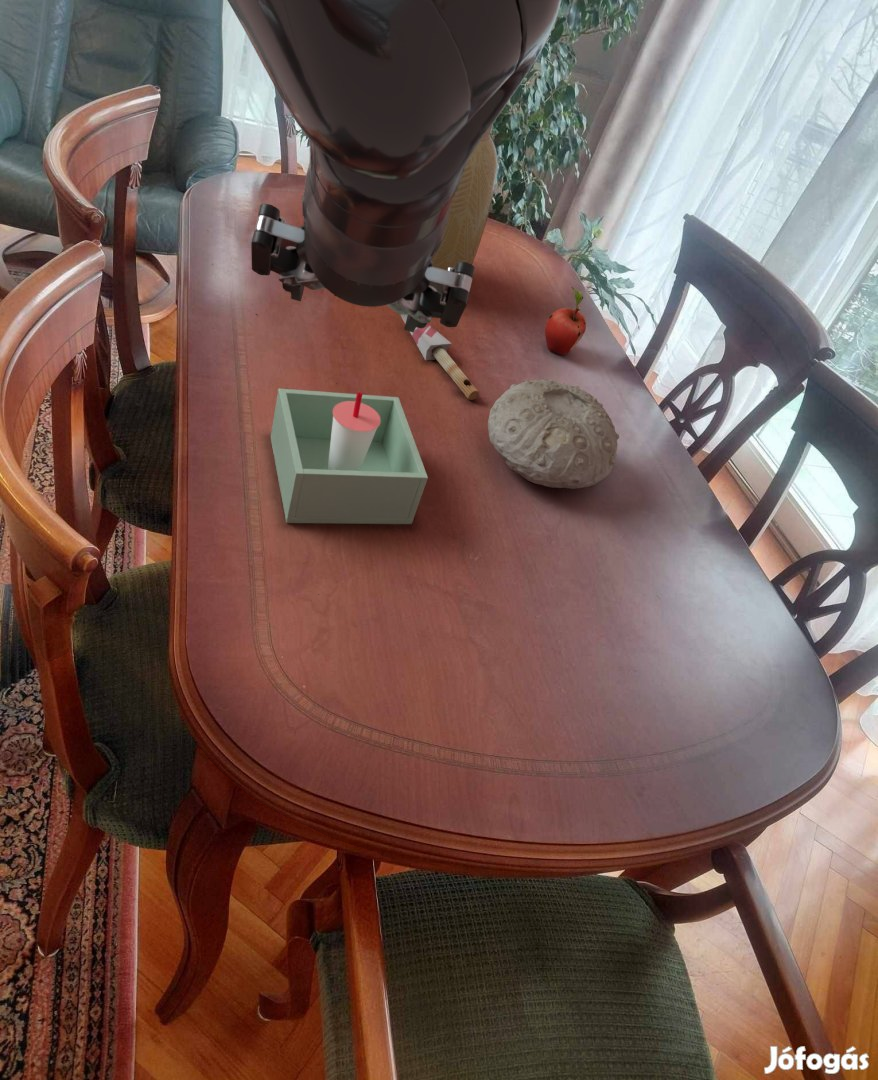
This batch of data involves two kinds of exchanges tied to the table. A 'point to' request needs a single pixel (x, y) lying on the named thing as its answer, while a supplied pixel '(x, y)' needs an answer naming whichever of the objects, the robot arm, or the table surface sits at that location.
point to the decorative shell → (553, 434)
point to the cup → (351, 434)
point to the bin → (344, 495)
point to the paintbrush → (441, 356)
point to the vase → (469, 207)
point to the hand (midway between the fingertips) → (355, 303)
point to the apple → (565, 328)
